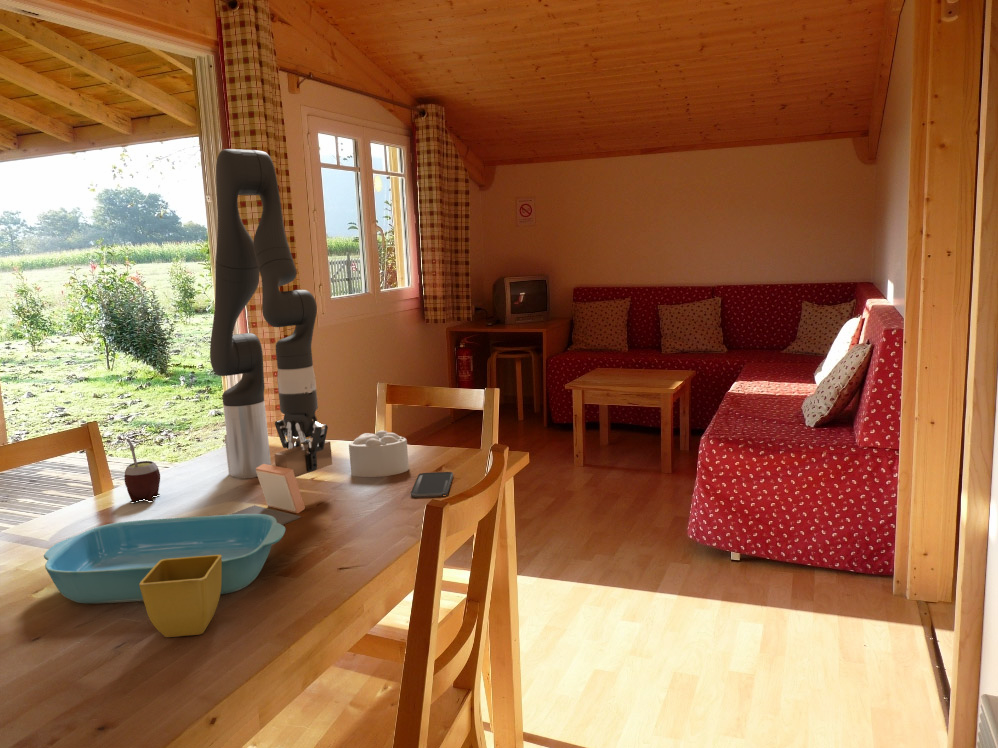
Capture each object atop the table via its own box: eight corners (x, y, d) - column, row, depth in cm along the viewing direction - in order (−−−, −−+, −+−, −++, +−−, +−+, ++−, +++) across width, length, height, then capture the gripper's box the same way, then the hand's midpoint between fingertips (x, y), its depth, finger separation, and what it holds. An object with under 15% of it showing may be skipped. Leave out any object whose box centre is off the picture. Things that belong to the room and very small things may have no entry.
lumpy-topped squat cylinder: (361, 464, 188) (358, 429, 187) (413, 463, 186) (411, 428, 185) (347, 477, 178) (344, 440, 176) (403, 476, 176) (400, 439, 175)
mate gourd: (153, 492, 173) (145, 427, 171) (170, 498, 168) (162, 431, 166) (119, 501, 168) (110, 434, 165) (136, 508, 163) (126, 439, 160)
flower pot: (167, 616, 113) (160, 558, 112) (229, 611, 114) (222, 553, 112) (146, 647, 105) (137, 584, 103) (212, 641, 105) (204, 578, 104)
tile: (267, 507, 160) (254, 469, 156) (275, 501, 161) (263, 463, 158) (296, 514, 155) (283, 475, 151) (305, 508, 156) (292, 469, 153)
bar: (276, 477, 158) (274, 453, 157) (320, 462, 167) (318, 439, 167) (288, 479, 156) (286, 455, 155) (332, 464, 165) (330, 441, 165)
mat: (219, 519, 153) (219, 518, 153) (254, 506, 160) (254, 505, 160) (265, 531, 145) (265, 530, 145) (300, 517, 152) (300, 516, 152)
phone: (409, 494, 161) (419, 472, 175) (410, 499, 161) (419, 477, 176) (447, 493, 160) (453, 471, 175) (448, 498, 161) (454, 476, 175)
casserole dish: (298, 544, 139) (294, 506, 138) (274, 600, 117) (269, 555, 116) (86, 560, 136) (80, 522, 135) (20, 621, 114) (12, 576, 113)
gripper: (259, 389, 160) (268, 470, 162) (307, 394, 152) (315, 479, 155) (288, 383, 166) (295, 461, 169) (335, 387, 158) (342, 469, 161)
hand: (304, 469), depth 161 cm, fingers closed on bar, 3 cm apart
